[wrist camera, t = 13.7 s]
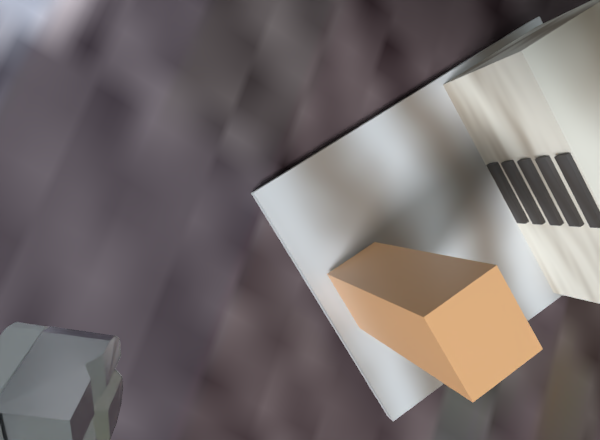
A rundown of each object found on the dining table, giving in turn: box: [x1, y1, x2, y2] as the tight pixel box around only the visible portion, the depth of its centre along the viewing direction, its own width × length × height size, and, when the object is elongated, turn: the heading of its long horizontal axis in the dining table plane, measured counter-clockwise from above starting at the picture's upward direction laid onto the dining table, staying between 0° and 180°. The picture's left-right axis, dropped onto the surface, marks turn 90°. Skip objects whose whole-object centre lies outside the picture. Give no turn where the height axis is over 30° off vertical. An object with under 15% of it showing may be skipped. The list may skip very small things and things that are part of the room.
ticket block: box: [251, 0, 600, 421], centre depth 32 cm, size 22×17×9 cm
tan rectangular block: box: [327, 242, 542, 402], centre depth 28 cm, size 4×4×13 cm
